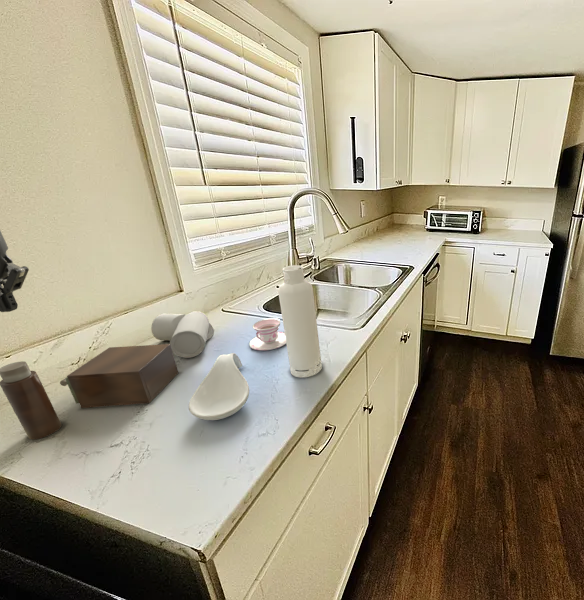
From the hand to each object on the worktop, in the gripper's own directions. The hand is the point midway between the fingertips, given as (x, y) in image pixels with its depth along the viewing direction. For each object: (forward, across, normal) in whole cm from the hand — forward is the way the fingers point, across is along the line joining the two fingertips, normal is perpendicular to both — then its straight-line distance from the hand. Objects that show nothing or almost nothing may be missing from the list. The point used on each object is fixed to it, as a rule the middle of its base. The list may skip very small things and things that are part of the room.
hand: (9, 310), depth 70 cm
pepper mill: (+22, -10, +13) cm, 28 cm away
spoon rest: (+22, -43, +5) cm, 49 cm away
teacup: (+22, -46, -21) cm, 55 cm away
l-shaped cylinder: (+22, -21, -22) cm, 37 cm away
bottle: (+22, -60, -4) cm, 64 cm away
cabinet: (+22, -19, 0) cm, 29 cm away
